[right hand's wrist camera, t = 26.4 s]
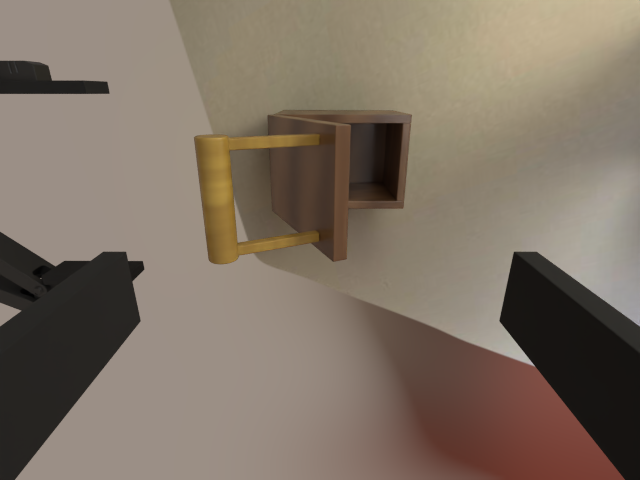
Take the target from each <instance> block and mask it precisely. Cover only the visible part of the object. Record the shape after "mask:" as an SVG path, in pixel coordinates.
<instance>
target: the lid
mask: <svg viewBox="0 0 640 480" xmlns="http://www.w3.org/2000/svg"><path fill="white" fill-rule="evenodd" d="M268 131H269V136H250V137H228V136H226V135H199V136H195V137H194V141H195V150H196V158H197V166H198V175H199V183H200V191H201V200H202V208H203V216H204V225H205V233H206V241H207V250H208V258H209V261H210V262H211V263H214V264H227V263H231V262H234V261H236V260H237V259H238V257H239V255H244V254H250V253H256V252H262V251H267V250H273V249H279V248H285V247H290V246H296V245H302V244H308V243H312V244H313V245H314V246H315V247H316V248H318V249H319V250H320V251H321V252H322V253H324V254H325V255H326V256H327V257H328V258H330V259H331V260H332V261H333V262H334V261H339V260H344V259H347V228H348V196H349V164H350V132H351V125H348V124H341V123H334V122H327V121H320V120H313V119H306V118H299V117H291V116H284V115H268ZM263 148H269V152H270V173H271V194H272V211H273V212H274V213H276V214H277V215H278V216H279V217H280V218H282V219H283V220H284V221H285V222H286V223H288V224H289V225H290V226H291V227H292V228H294V229H295V230H296V231H297V232H298V233H296V234H290V235H284V236H277V237H271V238H265V239H259V240H252V241H246V242H240V243H237V232H236V220H235V209H234V197H233V186H232V174H231V163H230V151H229V150H246V149H263Z"/></svg>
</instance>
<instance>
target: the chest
mask: <svg viewBox="0 0 640 480" xmlns="http://www.w3.org/2000/svg"><path fill="white" fill-rule="evenodd" d="M274 115H284V116H291V117H299V118H306V119H313V120H320V121H327V122H334V123H341V124H348V125H351V132H350V164H349V196H348V208H403V207H404V195H405V184H406V172H407V161H408V150H409V138H410V127H411V124H410V123H411V117H412V115H411V114H406V113H401V112H397V111H333V110H283V111H281V112H279V113H277V114H274Z"/></svg>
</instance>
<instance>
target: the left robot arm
mask: <svg viewBox="0 0 640 480" xmlns="http://www.w3.org/2000/svg"><path fill="white" fill-rule="evenodd" d="M0 94H109V88H108V83H107V82H100V81H52V79H51V75H50V71H49V67H48V66H47V65H45V64H42V63H39V62H30V61H0ZM89 262H90V261H64V262H62V263H61V264H59V265H58V266H56V267H55V266H54V265H52V264H51V263H49V262H47V261H46V260H44V259H43V258H41V257H39V256H38V255H36V254H35V253H33V252H31V251H30V250H28V249H27V248H25V247H23V246H22V245H20V244H19V243H17V242H15V241H14V240H12V239H11V238H9V237H7V236H6V235H4V234H3V233H1V232H0V303H3V304H5V305H8V306H11V307H13V308H16V309H19V310H21V311H22V310H24V309H25V308H27V307H28V306H29V305H31V304H32V303H33V302H35V301H36V300H38V299H39V298H40V297H42V296H43V295H44V294H46V293H47V292H49V291H50V290H51V289H53V288H54V287H56V286H57V285H58V284H60V283H61V282H62V281H64V280H65V279H67V278H68V277H69V276H71V275H72V274H73V273H75V272H76V271H78V270H79V269H80V268H82V267H83V266H84V265H86V264H87V263H89ZM128 264H129V269H130V273H131V278H132V281H133V280H134V279H135V278H136V277H137V276H138V275H139V274H140V273H141V272H142V271H143V270H144V265H143V261H128ZM40 278H42V279H40Z"/></svg>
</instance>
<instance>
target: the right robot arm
mask: <svg viewBox="0 0 640 480" xmlns="http://www.w3.org/2000/svg"><path fill="white" fill-rule="evenodd" d="M139 322H140V316H139V311H138V306H137V302H136V297H135V292H134V288H133V283H132V278H131V273H130V269H129V264H128V259H127V255H126V252H102V253H101V254H100V255H98V256H97V257H96V258H94V259H93V260H91V261H90V262H89V263H87V264H86V265H84V266H83V267H82V268H80V269H79V270H78V271H76V272H75V273H73V274H72V275H71V276H69V277H68V278H67V279H65V280H64V281H62V282H61V283H60V284H58V285H57V286H56V287H54V288H53V289H51V290H50V291H49V292H47V293H46V294H44V295H43V296H42V297H40V298H39V299H38V300H36V301H35V302H33V303H32V304H31V305H29V306H28V307H27V308H25V309H24V310H22V311H21V312H20V313H18V314H17V315H16V316H14V317H13V318H11V319H10V320H9V321H7V322H6V323H5V324H3V325H2V326H0V480H15V479H16V478H17V476H18V475H19V474H20V472H21V471H22V470H23V469H24V467H25V466H26V465H27V464H28V462H29V461H30V460H31V459H32V457H33V456H34V455H35V454H36V452H37V451H38V450H39V448H40V447H41V446H42V445H43V443H44V442H45V441H46V440H47V438H48V437H49V436H50V435H51V433H52V432H53V431H54V430H55V428H56V427H57V426H58V425H59V423H60V422H61V421H62V420H63V418H64V417H65V416H66V414H67V413H68V412H69V411H70V409H71V408H72V407H73V406H74V404H75V403H76V402H77V401H78V399H79V398H80V397H81V396H82V394H83V393H84V392H85V390H86V389H87V388H88V387H89V385H90V384H91V383H92V382H93V380H94V379H95V378H96V377H97V375H98V374H99V373H100V372H101V370H102V369H103V368H104V367H105V365H106V364H107V363H108V362H109V360H110V359H111V358H112V356H113V355H114V354H115V353H116V351H117V350H118V349H119V348H120V346H121V345H122V344H123V343H124V341H125V340H126V339H127V338H128V336H129V335H130V334H131V332H132V331H133V330H134V329H135V327H136V326H137V325H138V324H139ZM500 322H501V324H502V325H503V326H504V327H505V329H506V330H507V331H508V332H509V334H510V335H511V336H512V338H513V339H514V340H515V341H516V343H517V344H518V345H519V346H520V348H521V349H522V350H523V351H524V353H525V354H526V355H527V356H528V358H529V359H530V360H531V362H532V363H533V364H534V365H535V367H536V368H537V369H538V370H539V372H540V373H541V374H542V375H543V377H544V378H545V379H546V380H547V382H548V383H549V384H550V385H551V387H552V388H553V389H554V390H555V392H556V393H557V394H558V396H559V397H560V398H561V399H562V401H563V402H564V403H565V404H566V406H567V407H568V408H569V409H570V411H571V412H572V413H573V414H574V416H575V417H576V418H577V420H578V421H579V422H580V423H581V425H582V426H583V427H584V428H585V430H586V431H587V432H588V433H589V435H590V436H591V437H592V438H593V440H594V441H595V442H596V444H597V445H598V446H599V447H600V449H601V450H602V451H603V452H604V454H605V455H606V456H607V457H608V459H609V460H610V461H611V462H612V464H613V465H614V466H615V467H616V469H617V470H618V471H619V473H620V474H621V475H622V476H623V478H624V479H625V480H640V326H638V325H637V324H636V323H634V322H633V321H631V320H630V319H629V318H627V317H626V316H624V315H623V314H622V313H620V312H619V311H618V310H616V309H615V308H613V307H612V306H611V305H609V304H608V303H607V302H605V301H604V300H602V299H601V298H600V297H598V296H597V295H596V294H594V293H593V292H591V291H590V290H589V289H587V288H586V287H584V286H583V285H582V284H580V283H579V282H578V281H576V280H575V279H573V278H572V277H571V276H569V275H568V274H567V273H565V272H564V271H562V270H561V269H560V268H558V267H557V266H556V265H554V264H553V263H551V262H550V261H549V260H547V259H546V258H544V257H543V256H542V255H540V254H539V253H538V252H514V254H513V259H512V264H511V269H510V273H509V278H508V283H507V287H506V292H505V297H504V302H503V306H502V311H501V316H500Z"/></svg>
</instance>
